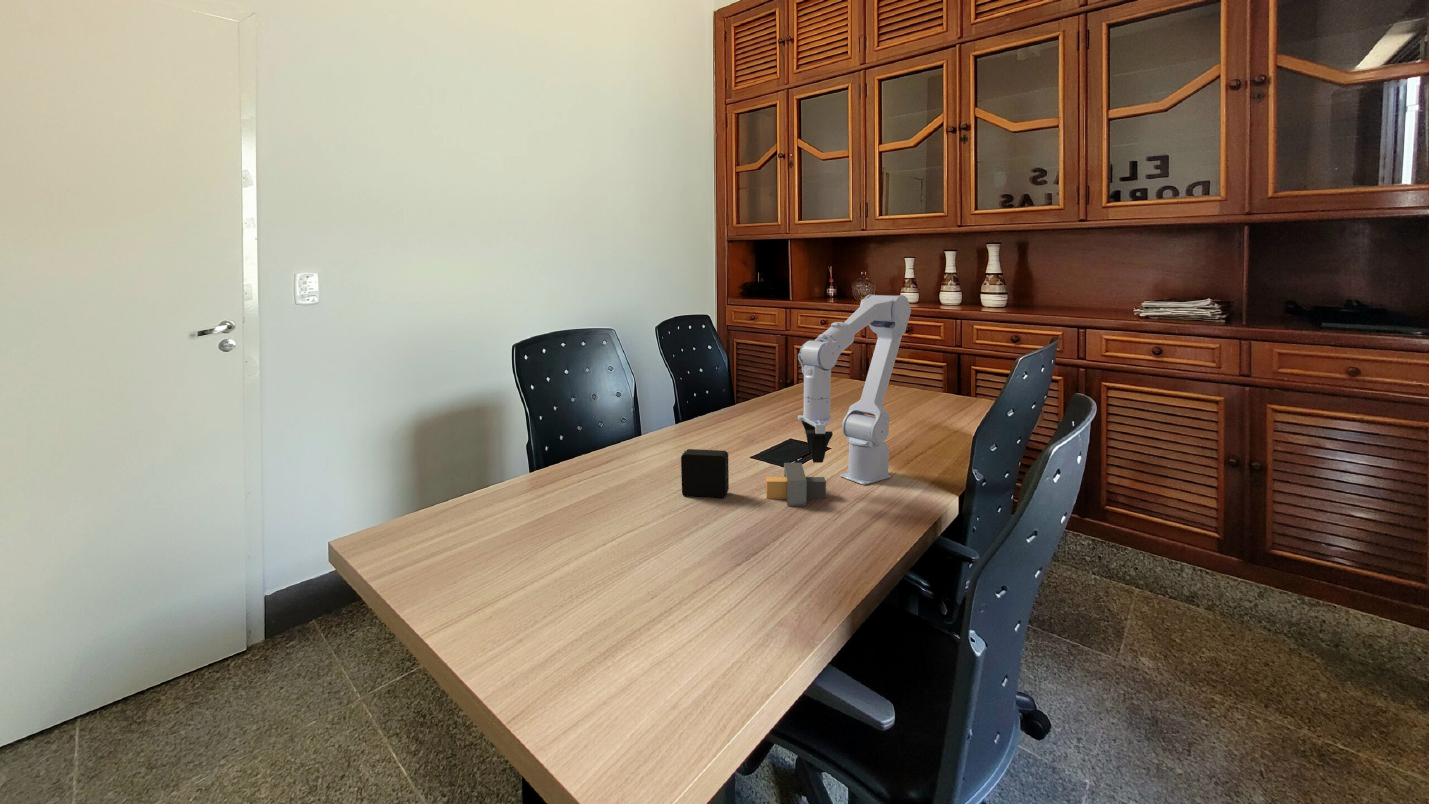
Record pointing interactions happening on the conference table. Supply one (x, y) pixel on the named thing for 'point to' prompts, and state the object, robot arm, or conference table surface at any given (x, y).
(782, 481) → the orange and grey bar
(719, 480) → the electronic device
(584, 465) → the conference table surface
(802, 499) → the grey rectangular block
